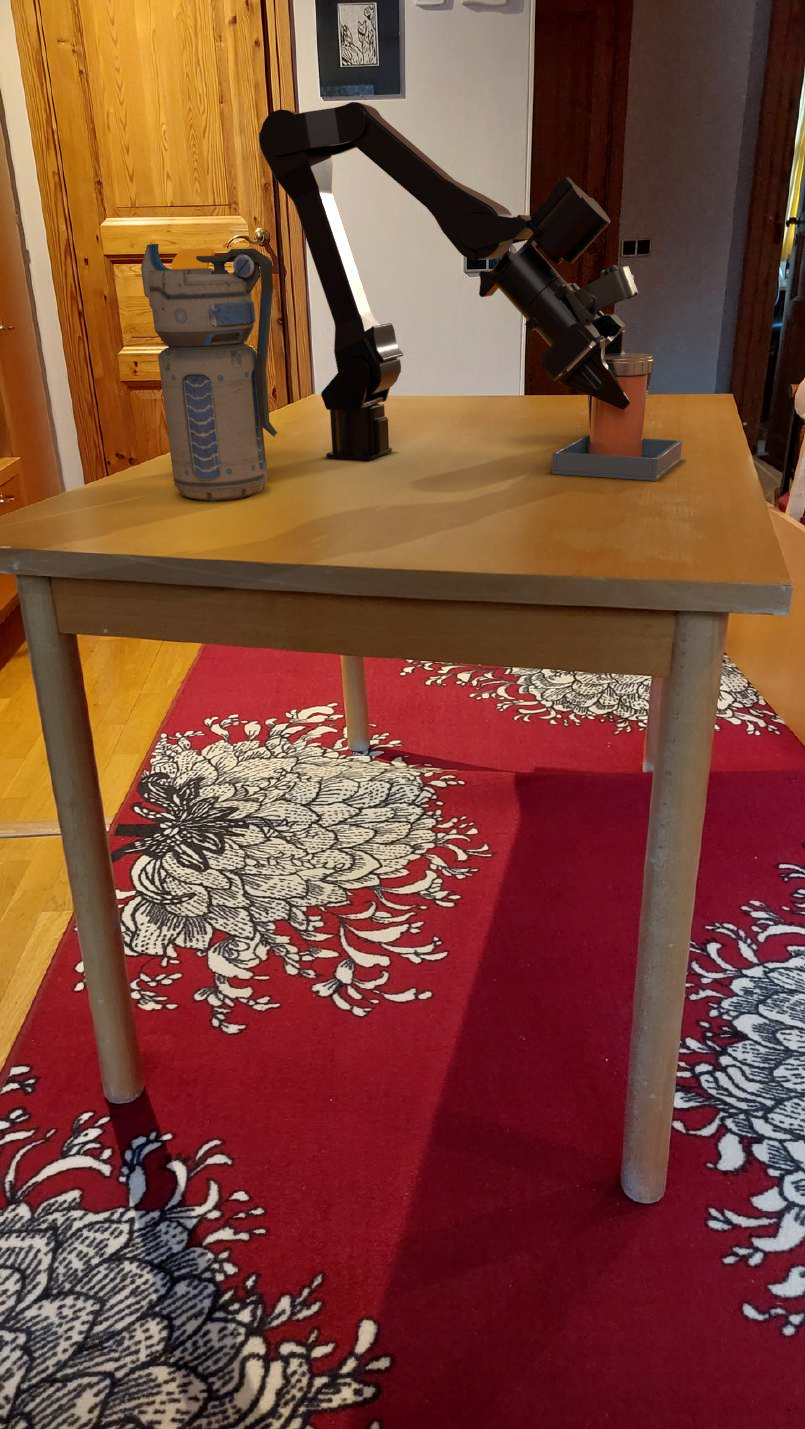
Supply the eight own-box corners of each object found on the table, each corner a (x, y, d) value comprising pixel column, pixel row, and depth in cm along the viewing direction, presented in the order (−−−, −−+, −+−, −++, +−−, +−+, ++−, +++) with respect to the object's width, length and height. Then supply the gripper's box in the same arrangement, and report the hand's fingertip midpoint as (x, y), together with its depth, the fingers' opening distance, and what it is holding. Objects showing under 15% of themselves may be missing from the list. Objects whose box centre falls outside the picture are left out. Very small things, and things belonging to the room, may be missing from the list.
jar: (607, 470, 111) (613, 364, 106) (578, 462, 116) (583, 359, 111) (651, 465, 113) (659, 360, 108) (621, 457, 118) (627, 356, 114)
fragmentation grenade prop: (278, 503, 103) (256, 240, 92) (157, 504, 105) (121, 244, 94) (298, 482, 112) (279, 240, 102) (185, 483, 114) (156, 244, 103)
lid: (612, 377, 106) (613, 360, 106) (577, 371, 112) (577, 356, 111) (664, 372, 109) (666, 356, 108) (627, 367, 115) (628, 352, 114)
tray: (551, 474, 113) (552, 452, 112) (583, 455, 122) (584, 435, 121) (656, 481, 108) (657, 459, 107) (680, 460, 117) (682, 440, 116)
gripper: (576, 238, 98) (679, 356, 99) (611, 238, 114) (700, 340, 115) (499, 323, 104) (597, 433, 105) (543, 312, 120) (628, 408, 121)
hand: (634, 400), depth 111 cm, fingers open, 9 cm apart
